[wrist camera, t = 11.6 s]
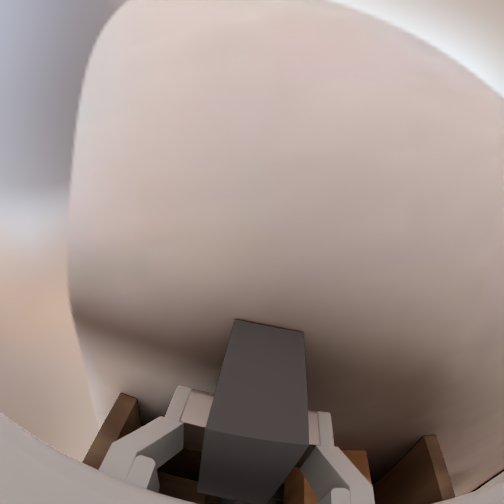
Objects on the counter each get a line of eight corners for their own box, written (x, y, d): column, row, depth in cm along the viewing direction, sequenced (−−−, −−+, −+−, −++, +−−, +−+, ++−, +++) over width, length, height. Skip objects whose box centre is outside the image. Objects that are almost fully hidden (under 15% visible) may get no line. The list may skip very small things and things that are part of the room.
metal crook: (409, 347, 11) (450, 440, 6) (301, 493, 16) (300, 548, 12) (234, 319, 11) (205, 428, 6) (205, 480, 17) (191, 535, 12)
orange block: (365, 449, 14) (374, 503, 10) (340, 476, 15) (343, 523, 12) (304, 446, 14) (304, 505, 10) (285, 473, 16) (282, 523, 12)
